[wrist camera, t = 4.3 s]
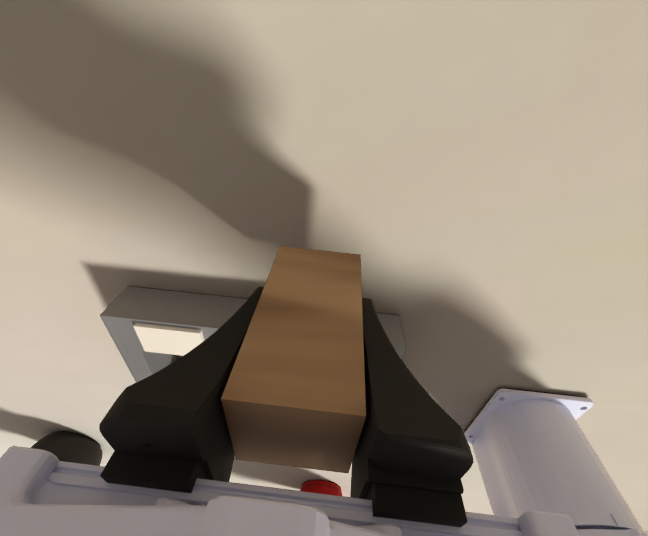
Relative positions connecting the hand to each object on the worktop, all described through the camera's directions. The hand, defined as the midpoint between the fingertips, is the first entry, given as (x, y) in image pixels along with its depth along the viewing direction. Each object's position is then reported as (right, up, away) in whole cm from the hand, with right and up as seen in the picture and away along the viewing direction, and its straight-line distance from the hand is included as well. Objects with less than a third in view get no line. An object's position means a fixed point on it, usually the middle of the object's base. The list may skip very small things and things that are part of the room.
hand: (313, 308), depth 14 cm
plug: (0, +1, +2) cm, 2 cm away
